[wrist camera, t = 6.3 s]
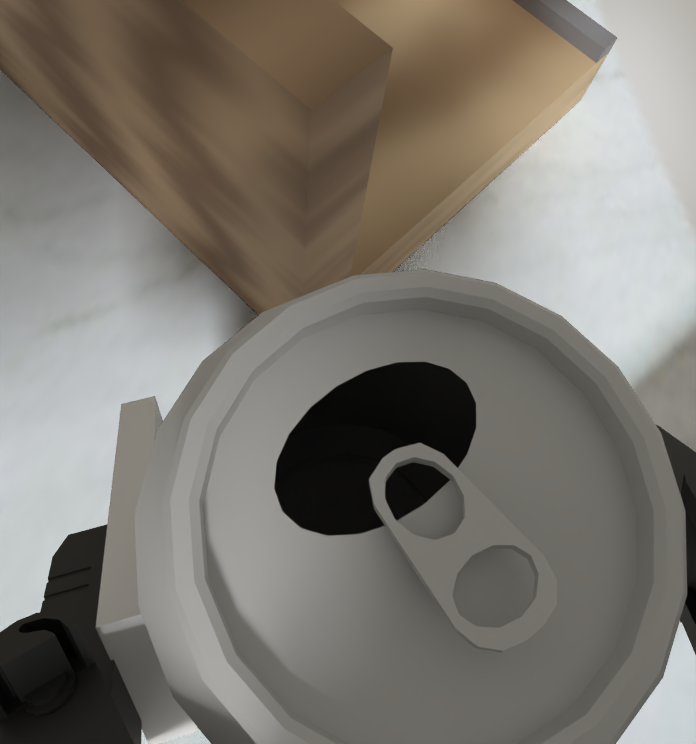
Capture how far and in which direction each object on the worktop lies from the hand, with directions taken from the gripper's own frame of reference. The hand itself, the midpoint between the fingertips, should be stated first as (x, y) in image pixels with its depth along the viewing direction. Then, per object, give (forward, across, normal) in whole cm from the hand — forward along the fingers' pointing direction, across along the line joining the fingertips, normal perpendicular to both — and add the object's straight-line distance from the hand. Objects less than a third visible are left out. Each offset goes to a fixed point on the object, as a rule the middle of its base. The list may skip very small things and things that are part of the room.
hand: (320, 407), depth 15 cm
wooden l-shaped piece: (+21, +4, +8) cm, 23 cm away
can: (+1, 0, -6) cm, 6 cm away
